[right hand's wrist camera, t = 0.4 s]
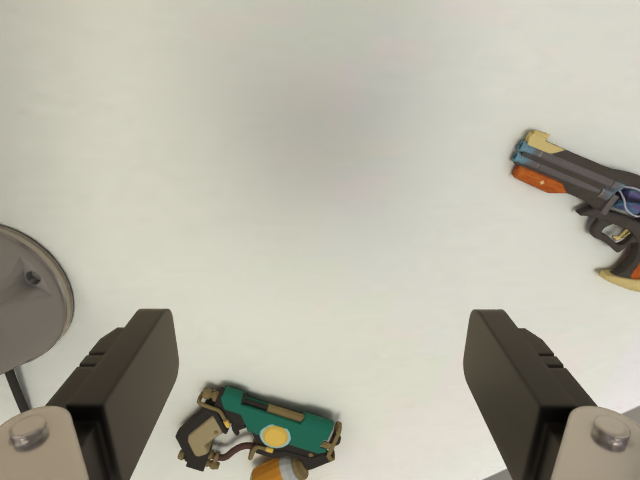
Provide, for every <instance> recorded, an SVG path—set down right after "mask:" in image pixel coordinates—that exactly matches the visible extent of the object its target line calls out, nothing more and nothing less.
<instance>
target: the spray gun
mask: <svg viewBox="0 0 640 480" xmlns="http://www.w3.org/2000/svg"><path fill="white" fill-rule="evenodd" d="M202 398H205V399H207V400H206V402H205V403H202V402H201V399H202ZM197 403H198V405H199V406H202V407H203V408H202V409H200V410H199V411H198V412H197V413H196V414H195V415H194V416H193V417H191V418H190V419H189V420H188V421H187V422H186V423H185V424H184V425H183V426H182V427H180V428H179V430H178V432H177V434H176V439H177V441H178V443H179V444H180V446H181V448H182V450H180V452H179V455H178V459H180V460H183V459H185V461H187V465H186V466H187V467H189V468H193V469H196V470H199V471H204V468H205V466H206V467H208V466H209V467H211V468H210V469H213V470H214V469H218V468H219V465H220V463H219V462H217V461H225V460H227V459H229V458H230V457H231V456H233V455H234V454H235V453H237V452H238V451H240V450H243V449H250V452H249V456H248V459H249V460H252V458H253V456H254V453H255V451H256V453H258V454H261V455H264V456H268V457H271V458H274V459H272V460H269V461H267V462H265V463H263V464H261V465H259V466H257V467H256V468H254V469H253V471H252V473H251V477H250V480H305V479H306V478H307V477H308V470H310V469H314V468H316V467H318V466H321V465H323V464H326V463H328V462H331V461H333V460H335V452H334V447H335V446H336V445H338V444H339V443H340V440H341V436H340V434H341V429H342V423H341V422H339V421H337V422H336V425H335V427H334V422H333V421H332V420H329V419H326V418H323V417H320V416H317V415H314V414H311V413H308V412H303V413H302V414H301V413H298V412H295V411H291V410H288V409H285V408H282V407H279V406H276V405H273V404H269V403H266V402H263V401H260V400H257V399H254V398H251V397H247V393H244V391H241V390H238V389H235V388H232V387H229V386H226V387H225V388H224V387H221V389H220V391H215V392H213V391H212V389H210V388H207V387H206V388H205V389H204V391H203V392H201V394H200V395H199V397H198V400H197ZM230 423H232V425H231V424H230ZM230 426H232V430H233V432H234V433H235V435H239V430H241V429H243V428H247V430H248V431H249V432H251V433H253V435H254V439H253V442H245V443H241V444H238V445H236V446H235V447H233V448H231V449H230V450H229V451H228V452H227V453H225V454H220V452H219V451H216V453H214V451H213V450H211V448H212V440H213V439H214V438H215V437H217V436H218V435H220V434H221V433H224V434H226V433H227V432H228V429H229V427H230ZM336 432H337V433H336ZM327 449H329V450H327ZM210 459H214V460H210Z"/></svg>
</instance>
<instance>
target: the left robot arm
mask: <svg viewBox="0 0 640 480" xmlns="http://www.w3.org/2000/svg"><path fill="white" fill-rule="evenodd" d="M72 315H73V296H72V292H71V288H70V285H69V282H68V280H67V278H66V276H65V274H64V273H63V271H62V269H61V268H60V266H59V265H58V263H57V262H56V261H55V260H54V259H53V257H52V256H51V255H50V254H49V253H48V252H47V251H46V250H45V249H43V248H42V247H41V246H40V245H39V244H37V243H36V242H35V241H33V240H32V239H30V238H28V237H27V236H25V235H23V234H21V233H20V232H17V231H15V230H13V229H11V228H8V227H5V226H2V225H0V375H1V374H3V373H5V375H6V378H7V381H8V383H9V386H10V388H11V391H12V393H13V396H14V398H15V400H16V403H17V405H18V408H19V410H20V412H21V413H23V412H25V411H28V410H29V408H28V406H27V403H26V401H25V399H24V396H23V394H22V391H21V388H20V386H19V383H18V381H17V378H16V375H15V373H14V370H13V368H15V367H17V366H19V365H22V364H24V363H27V362H30V361H32V360H34V359H36V358H38V357H39V356H41V355H43V354H44V353H46V352H47V351H48V350H49V349H51V348H52V347H53V346H54V345H55V344H56V343H57V342H58V341H59V340H60V339H61V337H62V336H63V335H64V334H65V332H66V331H67V329H68V327H69V325H70V323H71V320H72Z"/></svg>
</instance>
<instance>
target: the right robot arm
mask: <svg viewBox="0 0 640 480" xmlns="http://www.w3.org/2000/svg"><path fill="white" fill-rule="evenodd" d="M463 367H464V375H465V379H466V382H467V384H468V386H469V388H470V390H471V393H472V395H473V397H474V399H475V401H476V403H477V405H478V407H479V409H480V412H481V414H482V416H483V418H484V420H485V422H486V424H487V426H488V428H489V431H490V433H491V435H492V437H493V439H494V441H495V443H496V445H497V447H498V450H499V452H500V454H501V456H502V458H503V460H504V462H505V464H506V466H507V469H508V471H509V473H510V475H511V477H512V479H513V480H640V426H639V425H638V424H637V423H635V422H634V421H632V420H631V419H629V418H627V417H625V416H624V415H622V414H619V413H617V412H615V411H612V410H609V409H606V408H602V407H598V406H597V405H596V404H595V402H594V401H593V400H592V399H591V398H590V396H589V395H588V394H587V393H586V392H585V390H584V389H583V388H582V387H581V386H580V384H579V383H578V382H577V381H576V380H575V378H574V377H573V376H572V375H571V374H570V372H569V371H568V370H567V369H566V368H564V367H563V364H562V363H561V362H560V360H559V359H558V358H557V357H556V356H554V353H553V352H552V351H551V350H550V348H549V347H548V346H547V345H546V344H545V342H544V341H543V340H542V339H540V338H539V337H537V336H536V335H534V334H533V333H531V332H530V331H528V330H527V329H525V328H518V327H517V326H516V325H515V324H514V322H513V321H512V320H511V318H510V317H509V316H508V315H507V313H506V312H505V311H504V310H473V311H472V312H471V314H470V318H469V325H468V331H467V338H466V345H465V351H464V359H463ZM178 368H179V357H178V350H177V343H176V336H175V329H174V322H173V316H172V313H171V311H170V310H169V309H139V310H138V311H137V312H136V313H135V314H134V316H133V317H132V318H131V320H130V321H129V322H128V324H127V325H126V326H125V328H116V329H115V330H113V331H112V332H110V333H109V334H107V335H106V336H104V337H103V338H101V339H100V340H99V341H98V342H97V344H96V345H95V346H94V347H93V348H92V350H91V351H90V352H89V355H87V356H86V357H85V358H84V359H83V361H82V362H81V363H80V366H79V367H77V368H76V369H75V370H74V372H73V373H72V374H71V375H70V376H69V378H68V379H67V380H66V381H65V382H64V384H63V385H62V386H61V387H60V388H59V390H58V391H57V392H56V393H55V395H54V396H53V397H52V398H51V399H50V401H49V402H48V403H47V404H46V405H45V406H44V407H38V408H34V409H31V410H28V411H25V412H23V413H21V414H18V415H16V416H14V417H13V418H11V419H9V420H8V421H6V422H5V423H3V424H2V425H1V426H0V480H130V478H131V476H132V473H133V471H134V469H135V467H136V465H137V463H138V461H139V458H140V456H141V454H142V452H143V450H144V448H145V446H146V443H147V441H148V439H149V437H150V435H151V433H152V431H153V429H154V426H155V424H156V422H157V420H158V418H159V416H160V414H161V411H162V409H163V407H164V405H165V403H166V401H167V399H168V396H169V394H170V392H171V390H172V388H173V386H174V384H175V381H176V378H177V375H178Z"/></svg>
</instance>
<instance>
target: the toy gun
mask: <svg viewBox="0 0 640 480" xmlns="http://www.w3.org/2000/svg"><path fill="white" fill-rule="evenodd" d="M548 137H549V134H547V133H544V132H540V131H536V130H532V131H529V133H528V135H527V136H526V139H525V140H522V141H521V142H520V143H519V145H518V147H517V152H515V153H514V155H513V157H512V161H514V163H515V164H517V165H516V167H515V169H514V170H513V174H512V175H513V176H514V177H515V178H517V179H519V180H521V181H523V182H525V183H527V184H530V185H532V186H534V187H536V188H538V189H540V190H543V191H545V192H548V193H569V194H571V195H574V196H576V197H579V198H581V199H583V200H584V201H586V202H587V203H588V204H589V205H586V206H584V207H581V208H579V209H577V210H575V211H576V212H577V213H578V214H579V215H582V216H592V217H595V220H594V221H593V222H592V224H591V225H590V234H591V235H592V236H593V237H595V238H597V239H599V240H602V241H604V242H605V243H607V244H608V245H609V246H610V247H611V248H612V249H613V250H615V251H616V252H620V251H621V250H622V249H624V248H625V247H626V246H627V245H629V244H631V243H632V247H631V251H630V254H629V256H628V258H627V259H626V260H625V261H624V262H623V263H622V264H621V265H620V266H618V267H617V268H615V269H613V270H601V271H600V274H599V276H601V277H602V278H604V279H606V280H607V281H609V282H612V283H614V284H616V285H619V286H621V287H624V288H626V289H629V290H633V291H638V292H640V176H639V175H636V174H633V173H630V172H625V171H620V170H614V169H610V168H607V167H605V166H603V165H600V164H598V163H595V162H593V161H591V160H588V159H586V158H584V157H581V156H579V155H576V154H574V153H572V152H569V151H567V150H565V149H563V148H561V147H559V146H556V145H554V144H552V143H549V142H547V141H546V140H547V138H548ZM518 151H520V152H518ZM625 185H631V186H634V187H630V186H625ZM635 187H637V188H635ZM638 188H639V189H638ZM612 207H615V208H618V209H621V210H624V211H627V212H628V213H629V214H630V215H632V216H634V217H635V219H634V218H632V217H629V216H627V215H624V214H622V213H619V212H616V211H613V210H610V209H611V208H612ZM632 213H633V214H632ZM634 214H636V215H634ZM637 214H638V215H637ZM611 224H615V225H618V226H620V227H623V228H625V229H624V230H623V231H622V233H621V234H620V235H618V236H615V235H612V237H613V238H614V239H615V240H620V239H622V238H624V237H626V236H627V237H626V238H625V239H624V240H622V241H620V242H618V243H616V242H614V241H613V240H612V239H611V238H609V237H608V236H607V235H606V234H604V233H602V230H603V229H604V228H605V227H607V226H609V225H611ZM627 231H628V232H627ZM626 232H627V233H626ZM625 233H626V234H625ZM624 234H625V235H624Z"/></svg>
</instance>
